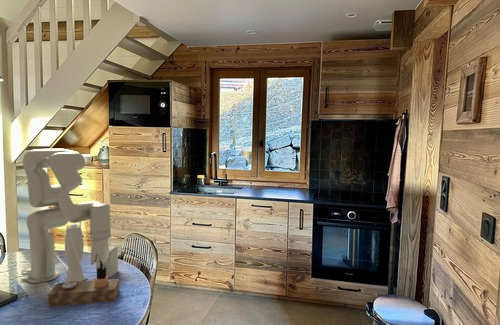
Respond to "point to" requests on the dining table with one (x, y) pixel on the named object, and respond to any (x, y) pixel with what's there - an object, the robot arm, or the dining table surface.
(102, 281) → the terracotta plug
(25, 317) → the dining table surface
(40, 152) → the robot arm
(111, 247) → the supplement box
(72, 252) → the skyscraper
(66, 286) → the plug
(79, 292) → the plug block
